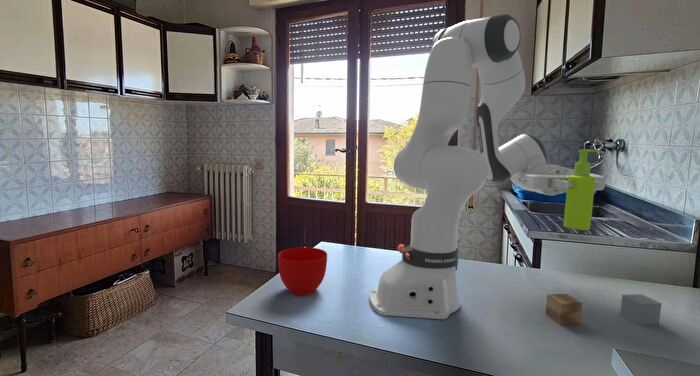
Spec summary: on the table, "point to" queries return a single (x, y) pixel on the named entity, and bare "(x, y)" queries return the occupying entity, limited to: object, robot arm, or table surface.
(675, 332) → the table surface
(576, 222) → the soap dispenser
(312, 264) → the ceramic cup
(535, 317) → the table surface
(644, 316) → the slate-grey block
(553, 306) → the walnut block
